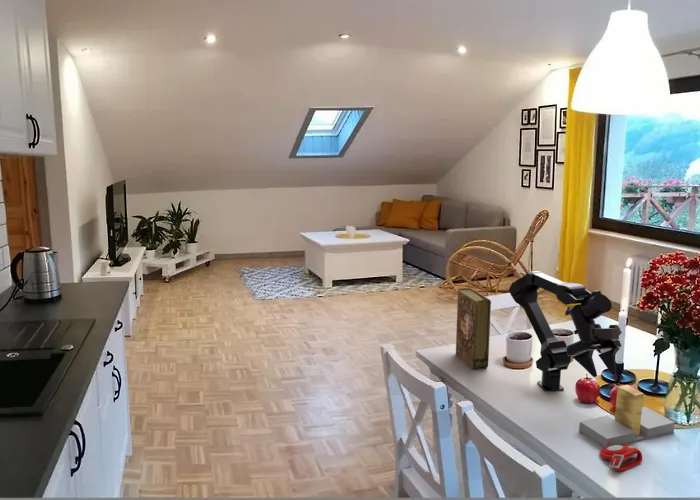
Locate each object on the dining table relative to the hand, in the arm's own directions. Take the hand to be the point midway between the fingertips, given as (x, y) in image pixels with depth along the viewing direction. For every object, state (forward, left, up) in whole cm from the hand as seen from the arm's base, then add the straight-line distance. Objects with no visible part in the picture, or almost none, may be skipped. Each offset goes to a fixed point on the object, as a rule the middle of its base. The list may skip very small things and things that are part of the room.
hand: (605, 375), depth 169 cm
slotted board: (+8, +3, -13) cm, 16 cm away
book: (-45, -26, -13) cm, 54 cm away
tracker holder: (+22, -7, -14) cm, 27 cm away
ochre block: (+8, +3, -13) cm, 15 cm away
